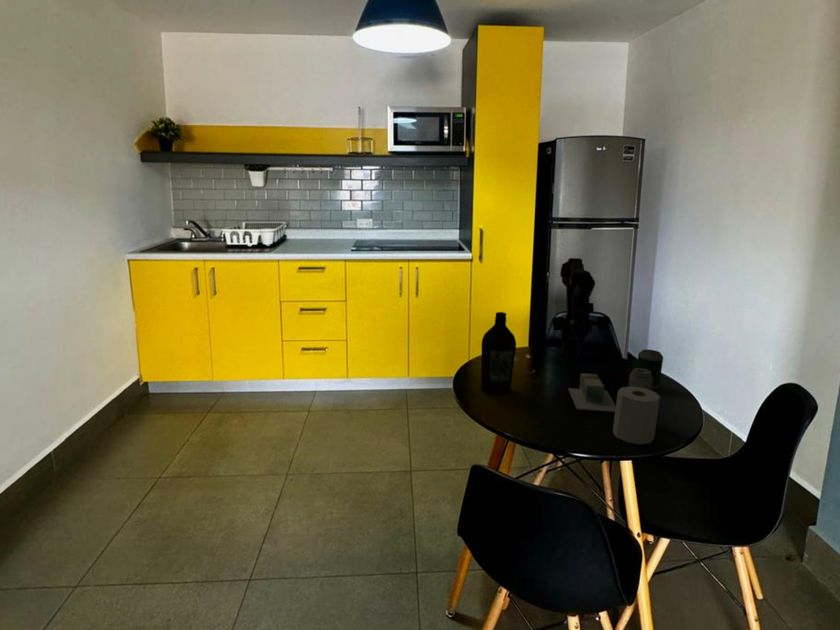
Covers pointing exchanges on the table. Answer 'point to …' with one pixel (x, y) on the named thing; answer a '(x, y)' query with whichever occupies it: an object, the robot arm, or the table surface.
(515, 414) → the table surface
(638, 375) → the energy drink can
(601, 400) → the birch block
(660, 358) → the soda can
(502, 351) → the olive oil
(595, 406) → the rubber mat
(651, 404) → the toilet paper
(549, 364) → the table surface
